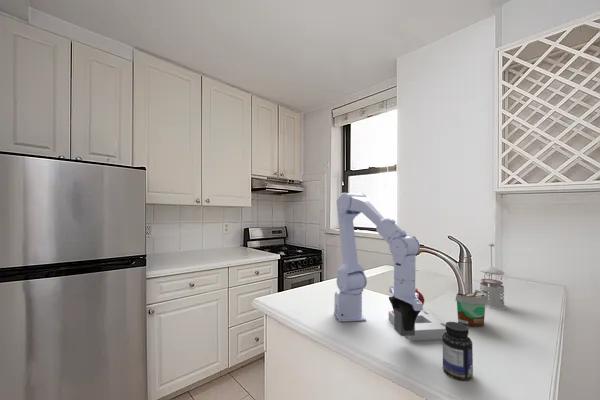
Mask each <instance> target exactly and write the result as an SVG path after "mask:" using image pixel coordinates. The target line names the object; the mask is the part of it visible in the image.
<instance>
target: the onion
mask: <svg viewBox="0 0 600 400" xmlns="http://www.w3.org/2000/svg"><path fill="white" fill-rule="evenodd" d="M415 293H417V294H419V297H417V298H418V299H419V301H420V302H421V303H423V305H425V298H424V295H423V294H422V293H421V292H420V290H419V291H418V288H416V287H415Z"/></svg>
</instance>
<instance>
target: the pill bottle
mask: <svg viewBox="0 0 600 400" xmlns="http://www.w3.org/2000/svg"><path fill="white" fill-rule="evenodd" d="M445 326H446V327H445V329H446V331H447V332H445V333H444V334H443V336H442V339H441V340H442V370H443V372H444V373H446V374H447V375H448V376H449V377H451V378H453V379H454V380H458V381H469V380H472V379H473V375H474V372H473V371H474V370H473V369H474V366H473V365H474V363H473V362H474V361H473V357H474V356H473V355H474V353H473V341H472V339H471V337H469V336H468V335H469V334H470V332H469V326H465V325H463V324H461V323H458V322H457V321H447V322H446V324H445Z"/></svg>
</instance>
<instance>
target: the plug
mask: <svg viewBox="0 0 600 400" xmlns="http://www.w3.org/2000/svg"><path fill="white" fill-rule="evenodd" d="M393 311H394V325H393V327H394V331H396V333H397V334H399V336H401V337H406V336H413V335H415V324H414V327H413V330H412V331H405V330H404V325H403V316H402V312H401V309H400V308H394V310H393Z"/></svg>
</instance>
